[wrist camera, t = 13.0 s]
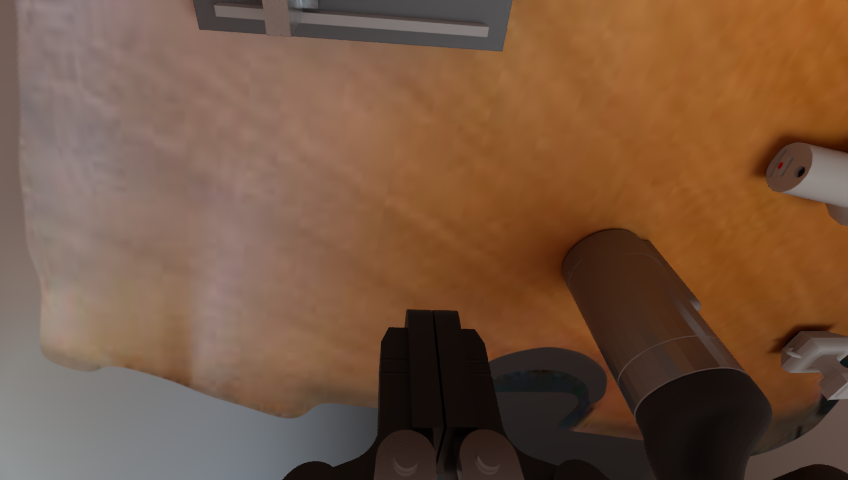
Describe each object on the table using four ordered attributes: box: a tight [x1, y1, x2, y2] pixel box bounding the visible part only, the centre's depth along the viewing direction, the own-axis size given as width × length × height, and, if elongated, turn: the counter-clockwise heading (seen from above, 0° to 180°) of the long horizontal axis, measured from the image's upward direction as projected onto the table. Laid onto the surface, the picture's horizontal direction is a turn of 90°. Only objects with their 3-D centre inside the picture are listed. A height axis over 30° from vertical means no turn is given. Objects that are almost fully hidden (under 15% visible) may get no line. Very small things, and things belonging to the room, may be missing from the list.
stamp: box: [781, 331, 848, 400], centre depth 58 cm, size 9×7×8 cm
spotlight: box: [766, 142, 848, 226], centre depth 39 cm, size 8×11×8 cm
